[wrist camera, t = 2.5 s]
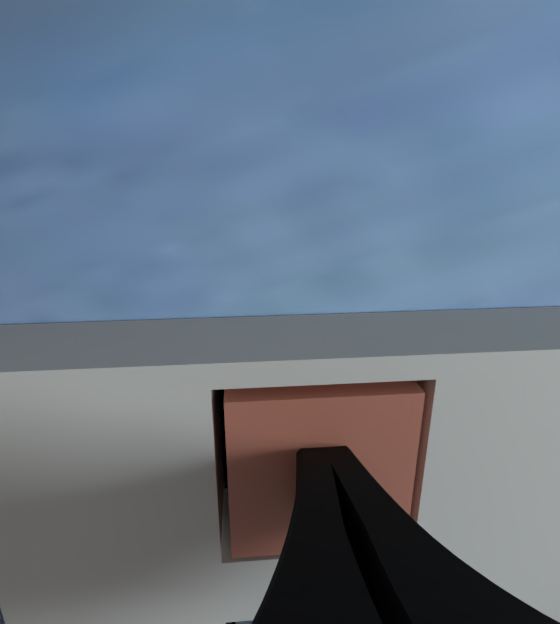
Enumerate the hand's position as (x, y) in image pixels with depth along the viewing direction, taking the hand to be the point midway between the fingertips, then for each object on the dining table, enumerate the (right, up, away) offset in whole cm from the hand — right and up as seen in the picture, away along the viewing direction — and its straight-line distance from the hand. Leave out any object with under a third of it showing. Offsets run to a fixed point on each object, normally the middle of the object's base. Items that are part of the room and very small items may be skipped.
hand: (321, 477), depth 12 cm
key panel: (0, -3, +4) cm, 5 cm away
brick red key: (0, +1, +3) cm, 3 cm away
